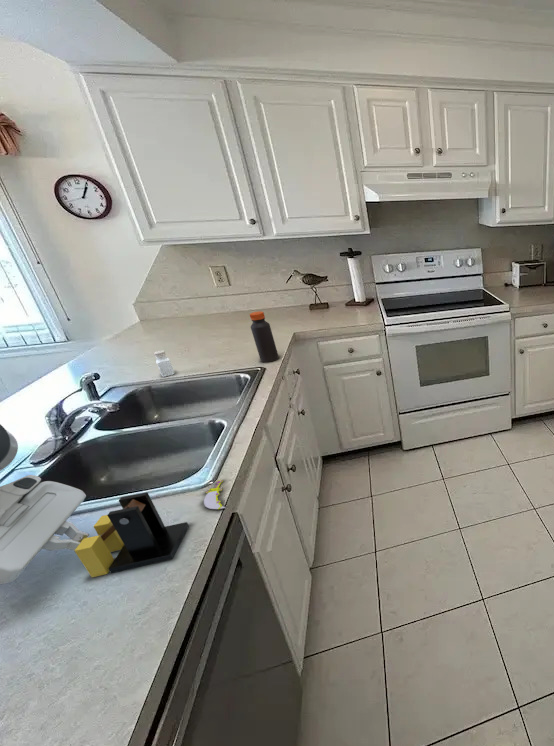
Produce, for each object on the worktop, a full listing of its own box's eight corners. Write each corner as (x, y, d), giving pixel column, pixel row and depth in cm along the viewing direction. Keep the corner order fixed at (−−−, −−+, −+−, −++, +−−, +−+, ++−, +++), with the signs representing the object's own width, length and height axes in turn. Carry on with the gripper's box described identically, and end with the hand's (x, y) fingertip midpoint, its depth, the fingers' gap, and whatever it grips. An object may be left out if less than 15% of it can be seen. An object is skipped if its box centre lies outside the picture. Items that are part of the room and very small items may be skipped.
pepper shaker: (162, 377, 157) (153, 354, 153) (161, 374, 160) (152, 351, 156) (175, 374, 160) (166, 351, 156) (174, 371, 162) (164, 349, 158)
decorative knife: (200, 516, 90) (226, 508, 92) (199, 514, 90) (225, 506, 92) (207, 484, 100) (231, 477, 101) (207, 483, 99) (230, 476, 101)
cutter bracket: (110, 573, 77) (81, 526, 72) (133, 537, 85) (109, 493, 80) (172, 559, 80) (148, 513, 75) (189, 525, 88) (168, 482, 83)
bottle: (257, 361, 169) (242, 315, 160) (270, 355, 175) (256, 310, 166) (269, 363, 167) (256, 316, 158) (282, 357, 173) (270, 311, 164)
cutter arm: (87, 565, 78) (69, 558, 77) (96, 552, 81) (79, 546, 80) (141, 514, 78) (124, 507, 76) (148, 504, 80) (132, 496, 79)
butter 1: (108, 552, 82) (92, 526, 79) (116, 541, 84) (101, 515, 81) (123, 549, 82) (108, 523, 79) (130, 538, 85) (116, 512, 82)
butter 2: (91, 577, 77) (73, 550, 74) (100, 564, 79) (83, 538, 76) (107, 574, 77) (90, 547, 74) (115, 561, 80) (99, 534, 77)
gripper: (-54, 550, 62) (57, 576, 69) (37, 468, 80) (119, 496, 87) (-74, 578, 63) (38, 602, 70) (21, 491, 81) (103, 517, 87)
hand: (83, 542), depth 78 cm, fingers closed, pressing on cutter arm
